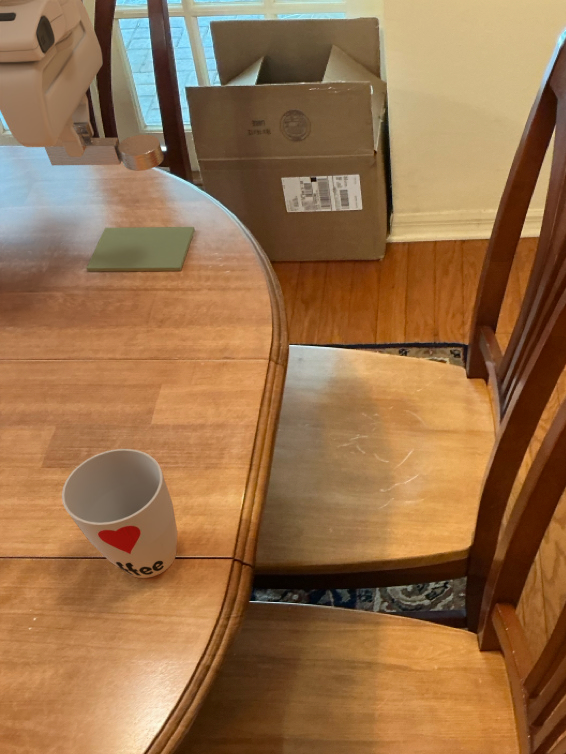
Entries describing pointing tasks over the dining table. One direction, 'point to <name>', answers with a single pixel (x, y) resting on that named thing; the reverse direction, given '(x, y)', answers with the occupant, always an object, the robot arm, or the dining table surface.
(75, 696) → the dining table surface
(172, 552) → the cup
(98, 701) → the dining table surface
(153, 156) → the spoon
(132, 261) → the placemat
